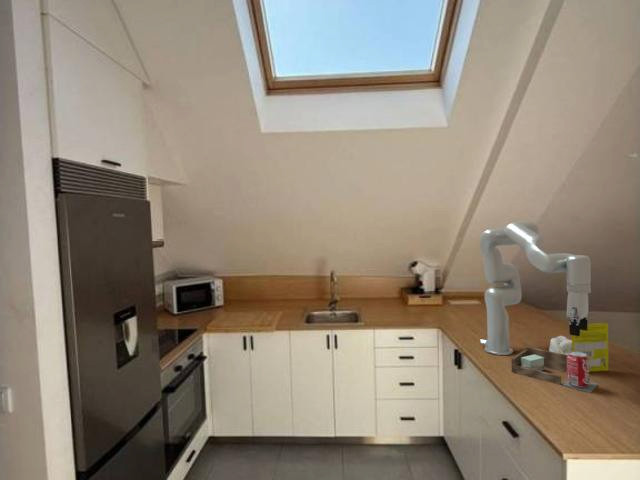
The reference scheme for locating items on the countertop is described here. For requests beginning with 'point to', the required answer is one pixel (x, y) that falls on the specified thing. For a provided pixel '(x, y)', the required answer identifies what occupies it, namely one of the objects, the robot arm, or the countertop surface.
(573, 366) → the soda can
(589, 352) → the food package
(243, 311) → the countertop surface
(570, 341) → the white decorative knot
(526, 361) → the offcut upper
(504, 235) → the robot arm
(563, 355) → the frame
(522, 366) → the offcut lower
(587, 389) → the slate mat
